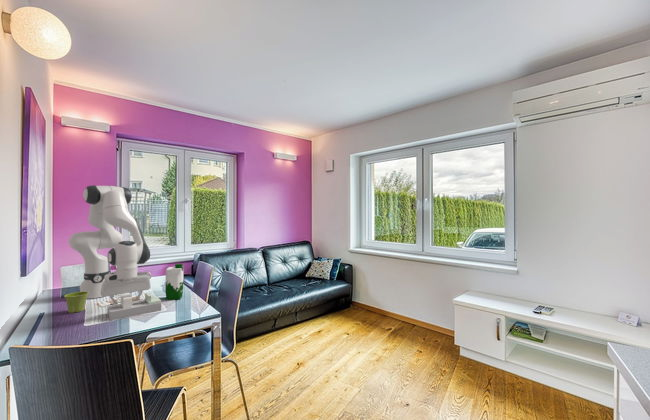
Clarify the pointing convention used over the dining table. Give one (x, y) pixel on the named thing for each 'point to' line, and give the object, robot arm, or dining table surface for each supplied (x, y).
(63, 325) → the dining table surface
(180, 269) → the milk carton
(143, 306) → the socket
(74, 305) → the plant pot
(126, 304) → the plug
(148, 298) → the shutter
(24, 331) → the dining table surface
